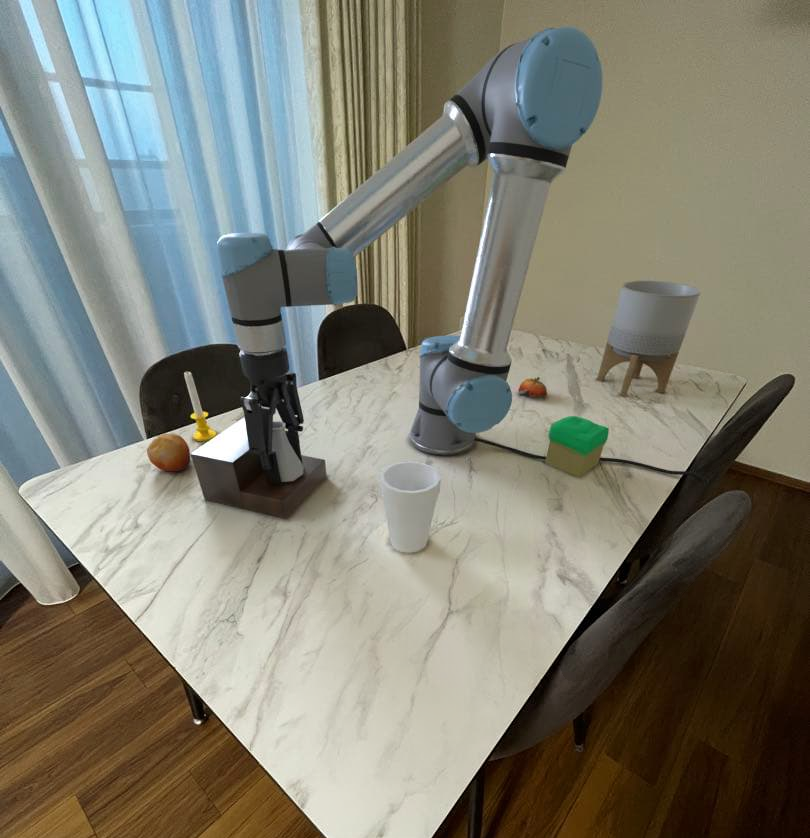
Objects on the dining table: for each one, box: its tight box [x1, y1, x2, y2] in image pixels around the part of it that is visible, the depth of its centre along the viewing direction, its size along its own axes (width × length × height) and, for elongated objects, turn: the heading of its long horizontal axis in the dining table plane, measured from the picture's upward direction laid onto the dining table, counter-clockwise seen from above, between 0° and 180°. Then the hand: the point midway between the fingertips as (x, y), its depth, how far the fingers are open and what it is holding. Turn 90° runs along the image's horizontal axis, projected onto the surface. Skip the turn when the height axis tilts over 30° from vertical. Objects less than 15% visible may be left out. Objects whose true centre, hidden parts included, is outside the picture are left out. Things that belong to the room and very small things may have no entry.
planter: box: [596, 280, 702, 398], centre depth 130 cm, size 19×19×26 cm
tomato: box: [518, 376, 548, 398], centre depth 131 cm, size 8×7×7 cm
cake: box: [544, 415, 610, 478], centre depth 100 cm, size 10×11×10 cm
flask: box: [272, 420, 304, 482], centre depth 87 cm, size 7×7×10 cm
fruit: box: [146, 433, 192, 472], centre depth 98 cm, size 8×8×8 cm
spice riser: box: [190, 417, 328, 520], centre depth 91 cm, size 18×16×10 cm
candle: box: [183, 371, 218, 442], centre depth 106 cm, size 5×5×16 cm
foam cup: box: [379, 460, 441, 554], centre depth 77 cm, size 10×9×13 cm
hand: (285, 472), depth 90 cm, fingers closed on flask, 7 cm apart
